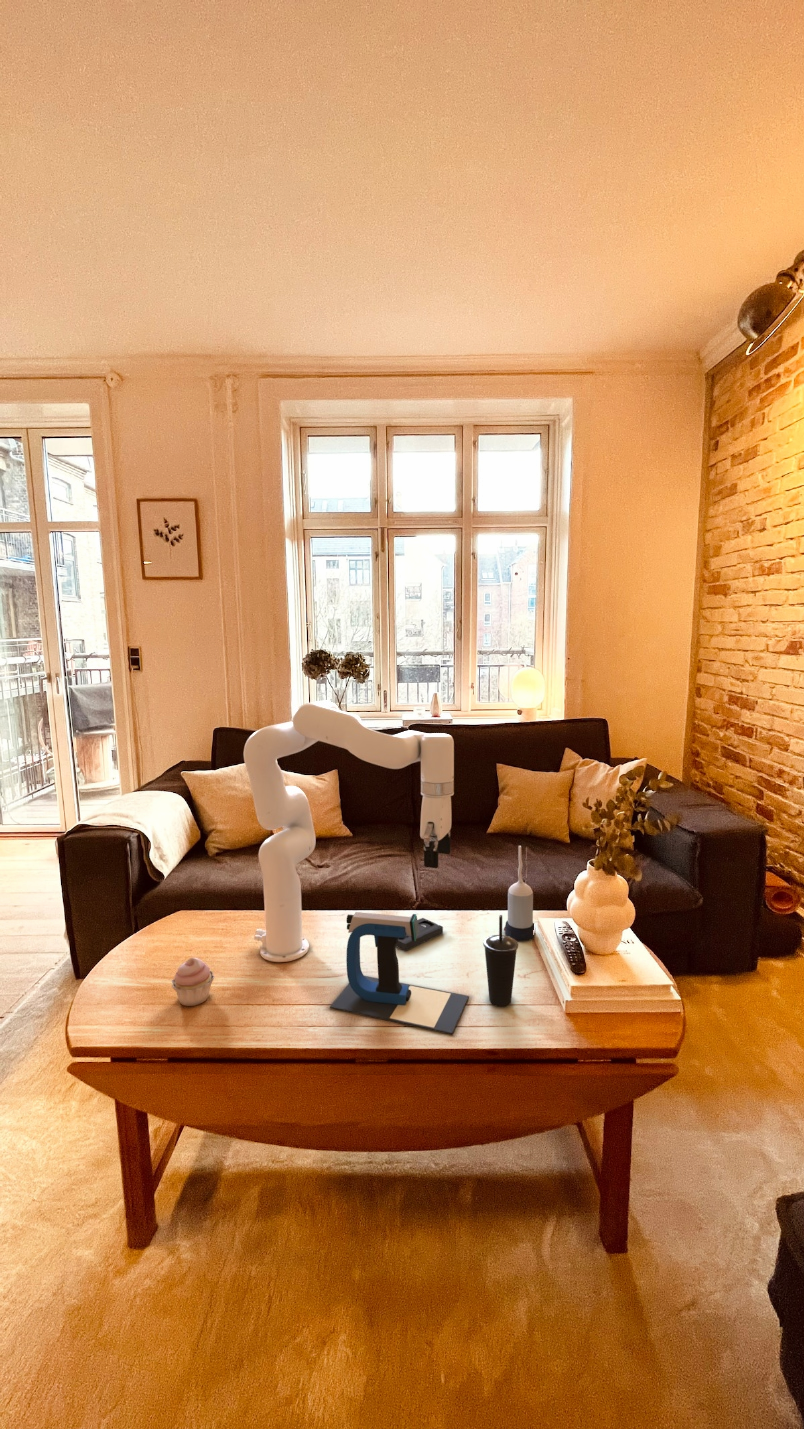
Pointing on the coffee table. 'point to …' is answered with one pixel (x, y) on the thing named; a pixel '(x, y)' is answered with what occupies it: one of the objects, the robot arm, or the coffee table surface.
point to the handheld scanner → (379, 955)
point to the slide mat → (409, 1008)
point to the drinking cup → (500, 966)
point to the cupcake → (193, 982)
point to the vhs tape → (420, 934)
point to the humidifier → (520, 909)
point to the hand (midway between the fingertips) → (437, 859)
